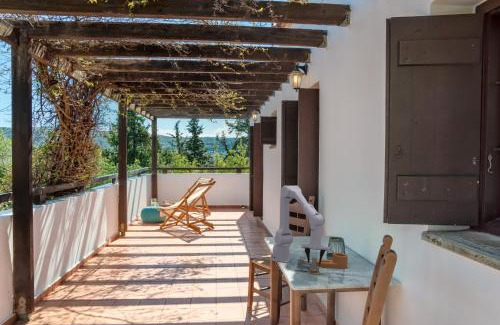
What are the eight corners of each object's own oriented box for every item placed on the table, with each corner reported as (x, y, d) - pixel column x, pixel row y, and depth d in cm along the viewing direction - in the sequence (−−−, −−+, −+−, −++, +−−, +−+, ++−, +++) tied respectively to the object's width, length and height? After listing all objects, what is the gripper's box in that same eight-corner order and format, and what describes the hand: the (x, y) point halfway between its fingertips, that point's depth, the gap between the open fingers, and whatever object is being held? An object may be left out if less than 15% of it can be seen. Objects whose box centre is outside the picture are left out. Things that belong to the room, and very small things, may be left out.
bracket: (344, 265, 228) (345, 253, 228) (348, 269, 220) (349, 257, 220) (313, 263, 228) (314, 251, 227) (316, 267, 219) (317, 255, 219)
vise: (296, 269, 214) (296, 260, 214) (299, 264, 224) (300, 255, 224) (315, 271, 211) (315, 263, 211) (317, 266, 222) (318, 258, 221)
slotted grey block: (309, 270, 212) (310, 256, 212) (319, 271, 211) (319, 257, 210) (308, 271, 209) (309, 257, 209) (318, 273, 208) (319, 259, 207)
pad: (307, 273, 208) (307, 272, 208) (308, 270, 214) (308, 269, 214) (318, 274, 206) (318, 274, 206) (320, 271, 212) (320, 270, 212)
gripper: (300, 237, 208) (299, 263, 208) (328, 240, 203) (327, 267, 204) (303, 235, 214) (301, 259, 215) (330, 238, 210) (328, 263, 211)
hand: (314, 263), depth 210 cm, fingers open, 5 cm apart
